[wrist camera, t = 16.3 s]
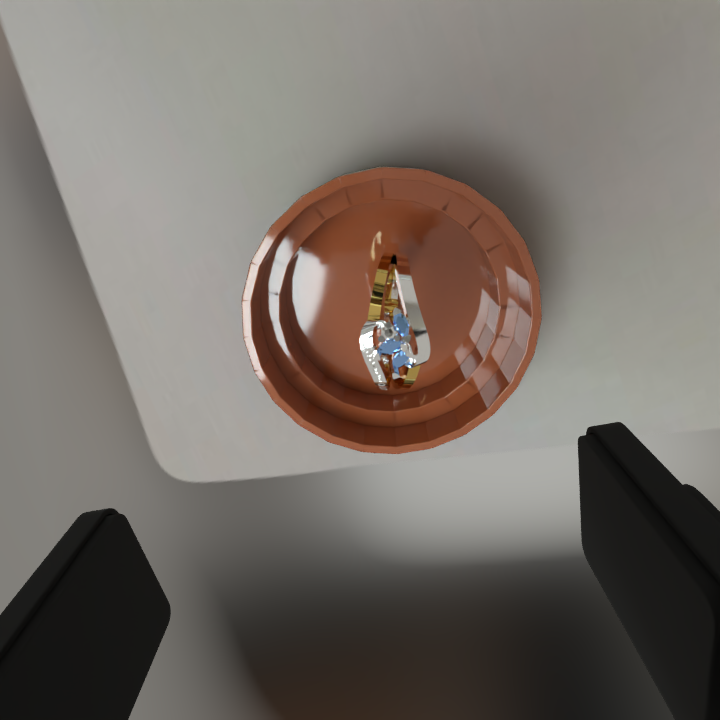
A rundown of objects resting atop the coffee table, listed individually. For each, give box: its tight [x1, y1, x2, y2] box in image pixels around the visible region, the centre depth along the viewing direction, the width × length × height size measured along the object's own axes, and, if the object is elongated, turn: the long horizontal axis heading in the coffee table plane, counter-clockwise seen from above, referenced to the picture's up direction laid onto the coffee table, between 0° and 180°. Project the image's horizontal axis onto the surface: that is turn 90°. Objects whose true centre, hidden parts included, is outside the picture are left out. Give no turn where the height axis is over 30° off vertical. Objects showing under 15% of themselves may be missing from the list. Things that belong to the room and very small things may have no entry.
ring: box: [360, 252, 430, 390], centre depth 25 cm, size 7×3×8 cm, turn 175°
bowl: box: [242, 166, 542, 454], centre depth 26 cm, size 15×15×5 cm
